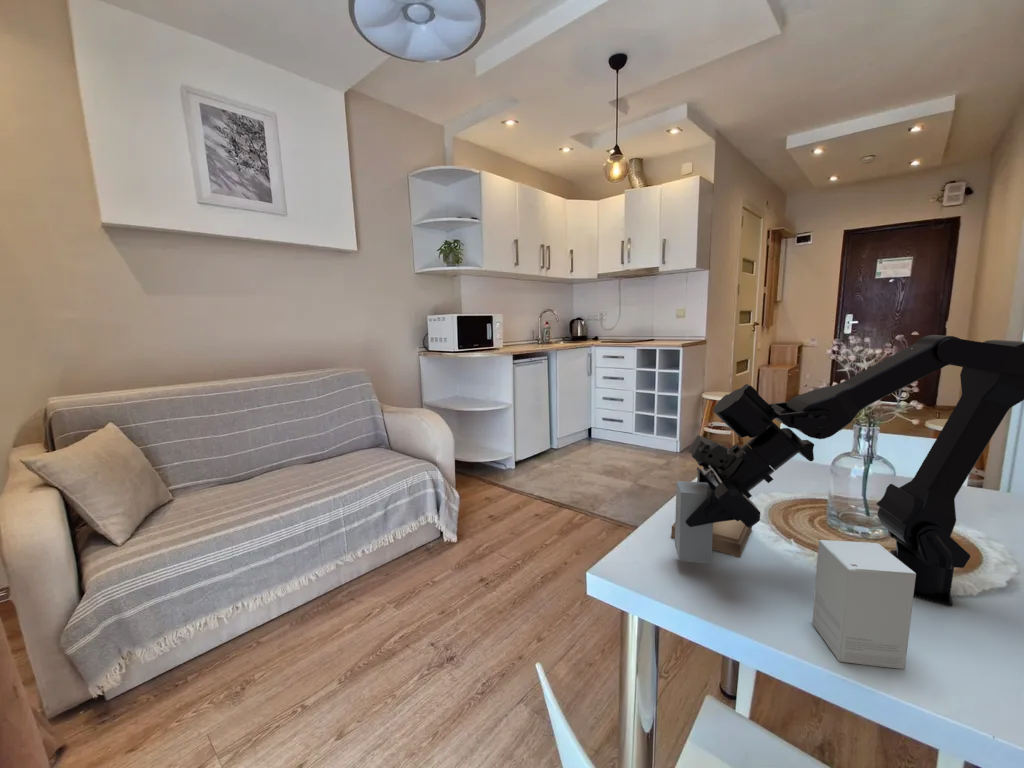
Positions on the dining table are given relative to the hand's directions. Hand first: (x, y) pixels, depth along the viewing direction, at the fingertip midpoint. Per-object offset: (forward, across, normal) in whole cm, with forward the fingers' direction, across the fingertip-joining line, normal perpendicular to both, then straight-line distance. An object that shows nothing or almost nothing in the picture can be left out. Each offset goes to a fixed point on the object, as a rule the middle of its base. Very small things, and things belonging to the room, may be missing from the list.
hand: (684, 517), depth 73 cm
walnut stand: (+1, -13, +12) cm, 17 cm away
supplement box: (-7, +15, +20) cm, 26 cm away
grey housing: (+4, 0, +6) cm, 7 cm away
